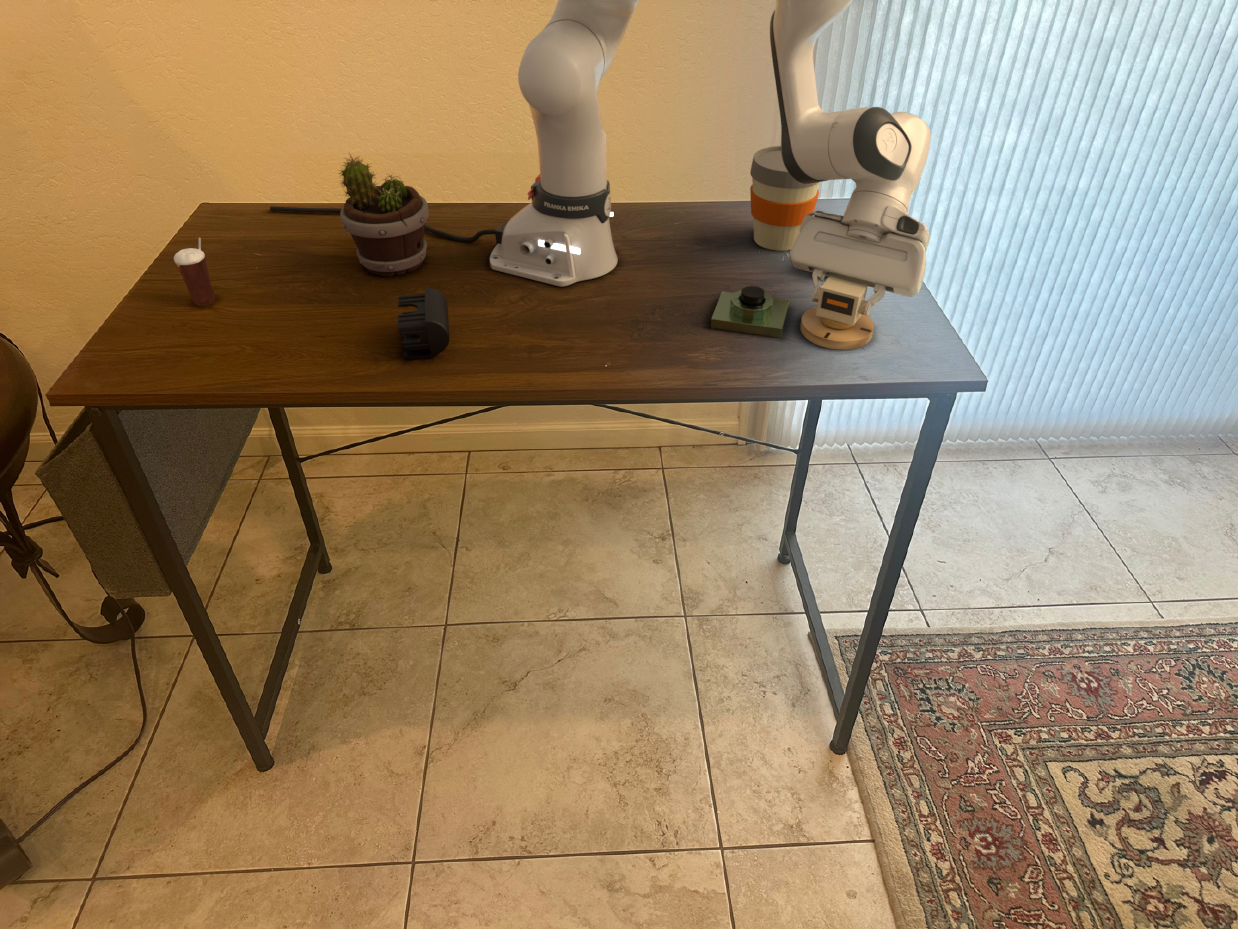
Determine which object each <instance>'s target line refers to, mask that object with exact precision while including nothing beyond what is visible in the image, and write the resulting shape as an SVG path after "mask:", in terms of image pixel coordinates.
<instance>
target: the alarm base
mask: <svg viewBox="0 0 1238 929" xmlns="http://www.w3.org/2000/svg"><path fill="white" fill-rule="evenodd" d="M741 290H742V289H739V290H737V291H735V292H730V291H724V290H722V291H721V293H720V294H719V295H720V296H719V298H718V300H717V303H716V306H715V307H714V308H715V309H714V311H713V313H712V315H711V319H710V329H715V330H721V331H728V332H736V333H743V334H750V335H757V336H765V337H769V338H770V337H771V338H778V339H781V338H782V336H783V331H784V327H785V323H786V320H787V317H788V312H789V307H790V300H789V299H783V298H776V297H772V295H771V294H770V293H768V292H766V291H764V292H765V293H764V302H763V304H762V305H759V306H748V305H745V304H742V303H741V301H740V299H741Z"/></svg>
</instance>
